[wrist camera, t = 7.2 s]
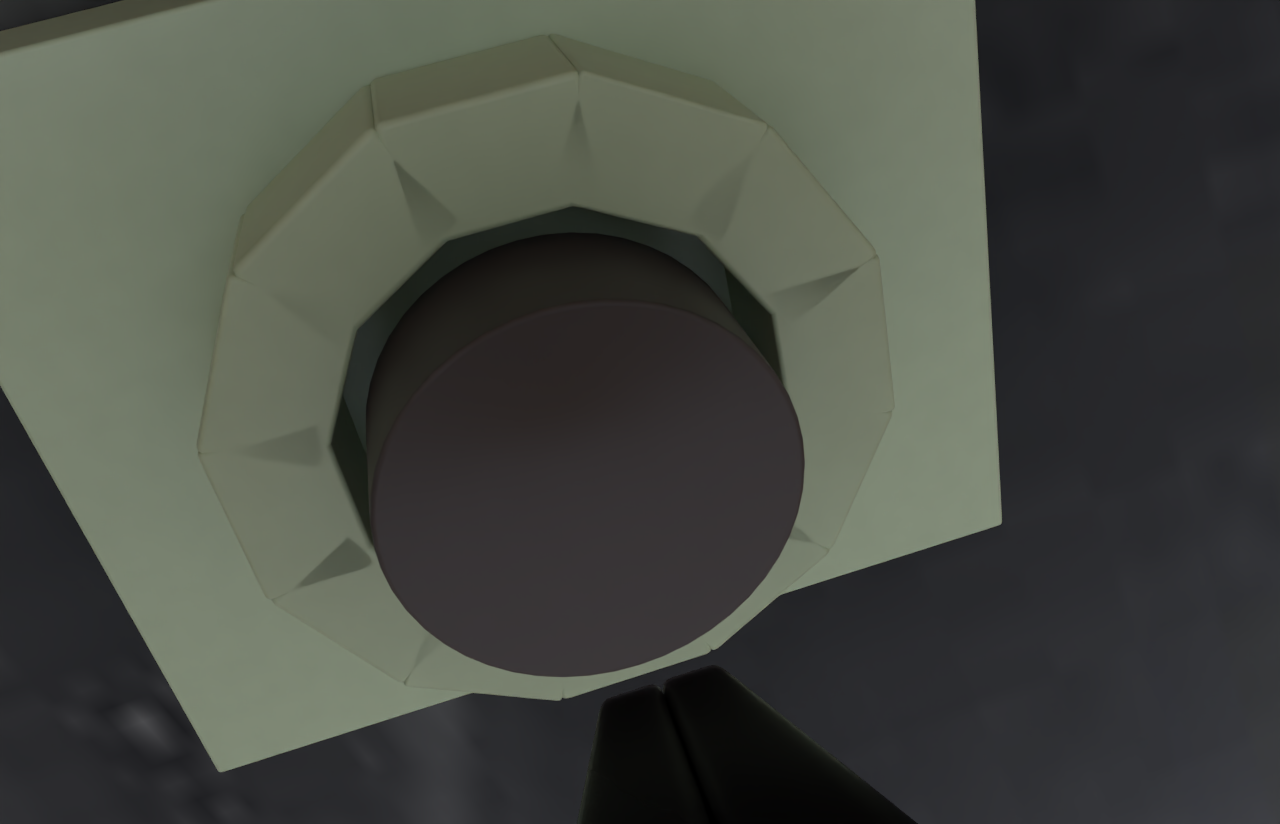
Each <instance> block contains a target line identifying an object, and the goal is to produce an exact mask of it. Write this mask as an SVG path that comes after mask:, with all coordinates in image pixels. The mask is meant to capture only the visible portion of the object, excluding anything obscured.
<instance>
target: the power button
mask: <svg viewBox="0 0 1280 824" xmlns="http://www.w3.org/2000/svg"><path fill="white" fill-rule="evenodd" d="M366 446H367V470H368V494H369V518H370V526H371V533H372V540H373V546H374V549H375V552H376V555H377V558H378V562H379V565H380V568H381V570H382V572H383V574H384V576H385V578H386V580H387V582H388V584H389V586H390V588H391V590H392V591H393V593H394V594H395V596H396V597H397V598H398V600H399V601H400V603H401V604H402V605H403V607H404V608H405V609H406V611H407V612H408V613H409V614H410V615H411V616H412V617H413V618H414V619H415V620H416V621H417V622H418V623H419V624H420V625H421V626H422V627H423V628H424V629H425V630H426V631H428V632H429V633H430V634H432V635H433V636H434V637H436V638H437V639H438V640H439V641H441V642H442V643H443V644H445V645H447V646H449V647H450V648H452V649H454V650H456V651H457V652H459V653H461V654H463V655H464V656H466V657H469V658H471V659H474V660H476V661H479V662H481V663H483V664H486V665H488V666H492V667H496V668H499V669H503V670H506V671H510V672H515V673H521V674H527V675H534V676H547V677H576V676H591V675H597V674H603V673H609V672H615V671H619V670H623V669H627V668H630V667H634V666H638V665H641V664H644V663H647V662H649V661H652V660H655V659H657V658H660V657H663V656H665V655H667V654H669V653H671V652H673V651H675V650H677V649H679V648H681V647H683V646H685V645H687V644H689V643H691V642H692V641H694V640H696V639H697V638H699V637H700V636H702V635H704V634H705V633H707V632H709V631H710V630H711V629H713V628H714V627H715V626H717V625H718V624H719V623H721V622H722V621H723V620H724V619H726V618H727V617H728V616H730V615H731V614H732V613H733V612H734V611H735V610H736V609H737V608H738V607H739V606H740V605H741V604H742V603H743V602H744V601H745V600H747V599H748V598H749V597H750V595H751V594H752V593H753V592H754V591H755V589H756V588H757V587H758V586H759V585H760V584H761V582H762V581H763V580H764V579H765V578H766V576H767V575H768V573H769V572H770V570H771V569H772V567H773V565H774V564H775V562H776V561H777V559H778V558H779V556H780V554H781V552H782V550H783V548H784V546H785V544H786V542H787V540H788V538H789V536H790V534H791V531H792V529H793V526H794V523H795V520H796V517H797V514H798V511H799V506H800V502H801V497H802V492H803V484H804V470H805V458H804V445H803V437H802V433H801V429H800V424H799V420H798V416H797V414H796V411H795V409H794V406H793V404H792V401H791V399H790V396H789V394H788V392H787V391H786V389H785V387H784V386H783V384H782V382H781V381H780V379H779V377H778V376H777V374H776V373H775V371H774V370H773V369H772V367H771V366H770V365H769V363H768V362H767V361H766V359H765V358H764V357H763V355H762V354H761V353H760V351H759V350H758V349H757V347H756V346H755V345H754V343H753V342H752V340H751V339H750V338H749V336H748V335H747V334H746V332H745V331H744V330H743V328H742V327H741V326H740V324H739V323H738V322H737V320H736V319H735V318H734V316H733V315H732V314H731V312H730V311H729V310H728V308H727V307H726V306H725V304H724V303H723V302H722V301H721V299H720V298H719V297H718V296H717V295H716V293H715V292H714V291H713V290H712V289H711V287H710V286H709V285H708V284H707V283H706V282H704V281H703V280H702V279H701V278H700V277H699V276H698V275H697V274H695V273H694V272H693V271H692V270H691V269H689V268H688V267H686V266H685V265H683V264H682V263H680V262H679V261H677V260H676V259H674V258H673V257H671V256H669V255H667V254H665V253H663V252H661V251H659V250H656V249H654V248H652V247H650V246H648V245H645V244H642V243H638V242H635V241H632V240H629V239H626V238H621V237H616V236H610V235H604V234H598V233H576V232H568V233H556V234H545V235H539V236H534V237H530V238H525V239H520V240H516V241H513V242H510V243H507V244H504V245H501V246H499V247H496V248H493V249H490V250H488V251H486V252H484V253H482V254H480V255H478V256H476V257H474V258H472V259H470V260H468V261H466V262H464V263H462V264H461V265H459V266H458V267H456V268H455V269H453V270H452V271H450V272H449V273H447V274H446V275H444V276H443V277H441V278H440V279H439V280H438V281H437V282H436V283H434V284H433V285H432V286H431V287H430V288H429V289H427V290H426V291H425V292H424V293H423V294H422V295H421V296H420V297H419V298H418V299H417V300H416V301H415V302H414V303H413V305H412V306H411V307H410V308H409V309H408V310H407V311H406V312H405V314H404V315H403V316H402V318H401V319H400V321H399V322H398V324H397V325H396V327H395V328H394V329H393V331H392V332H391V334H390V335H389V337H388V339H387V341H386V343H385V345H384V347H383V349H382V351H381V353H380V355H379V358H378V360H377V363H376V366H375V369H374V372H373V375H372V378H371V381H370V386H369V392H368V398H367V404H366Z"/></svg>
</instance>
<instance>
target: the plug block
mask: <svg viewBox="0 0 1280 824" xmlns="http://www.w3.org/2000/svg"><path fill="white" fill-rule="evenodd" d="M568 232H576V233H598V234H604V235H610V236H616V237H621V238H626V239H629V240H632V241H635V242H638V243H642V244H645V245H648V246H650V247H652V248H654V249H656V250H659V251H661V252H663V253H665V254H667V255H669V256H671V257H673V258H674V259H676V260H677V261H679V262H680V263H682V264H683V265H685V266H686V267H688V268H689V269H691V270H692V271H693V272H694V273H695V274H697V275H698V276H699V277H700V278H701V279H702V280H703V281H704V282H706V283H707V284H708V285H709V286H710V287H711V289H712V290H713V291H714V292H715V293H716V295H717V296H718V297H719V298H720V299H721V301H722V302H723V303H724V304H725V306H726V307H727V308H728V310H729V311H730V312H731V314H732V315H733V316H734V318H735V319H736V320H737V322H738V323H739V324H740V326H741V327H742V328H743V330H744V331H745V332H746V334H747V335H748V336H749V338H750V339H751V340H752V342H753V343H754V345H755V346H756V347H757V349H758V350H759V351H760V353H761V354H762V355H763V357H764V358H765V359H766V361H767V362H768V363H769V365H770V366H771V367H772V369H773V370H774V371H775V373H776V374H777V376H778V377H779V379H780V381H781V382H782V384H783V386H784V387H785V389H786V391H787V392H788V394H789V396H790V399H791V401H792V404H793V406H794V409H795V411H796V414H797V416H798V420H799V424H800V429H801V433H802V437H803V445H804V458H805V470H804V484H803V492H802V497H801V502H800V506H799V511H798V514H797V517H796V520H795V523H794V526H793V529H792V531H791V534H790V536H789V538H788V540H787V542H786V544H785V546H784V548H783V550H782V552H781V554H780V556H779V558H778V559H777V561H776V562H775V564H774V565H773V567H772V569H771V570H770V572H769V573H768V575H767V576H766V578H765V579H764V580H763V581H762V582H761V584H760V585H759V586H758V587H757V588H756V589H755V591H754V592H753V593H752V594H751V595H750V597H749V598H748V599H747V600H745V601H744V602H743V603H742V604H741V605H740V606H739V607H738V608H737V609H736V610H735V611H734V612H733V613H732V614H731V615H730V616H728V617H727V618H726V619H724V620H723V621H722V622H721V623H719V624H718V625H717V626H715V627H714V628H713V629H711V630H710V631H709V632H707V633H705V634H704V635H702V636H700V637H699V638H697V639H696V640H694V641H692V642H691V643H689V644H687V645H685V646H683V647H681V648H679V649H677V650H675V651H673V652H671V653H669V654H667V655H665V656H663V657H660V658H657V659H655V660H652V661H649V662H647V663H644V664H641V665H638V666H634V667H630V668H627V669H623V670H619V671H615V672H609V673H603V674H597V675H591V676H576V677H547V676H534V675H527V674H521V673H515V672H510V671H506V670H503V669H499V668H496V667H492V666H488V665H486V664H483V663H481V662H479V661H476V660H474V659H471V658H469V657H466V656H464V655H463V654H461V653H459V652H457V651H456V650H454V649H452V648H450V647H449V646H447V645H445V644H443V643H442V642H441V641H439V640H438V639H437V638H436V637H434V636H433V635H432V634H430V633H429V632H428V631H426V630H425V629H424V628H423V627H422V626H421V625H420V624H419V623H418V622H417V621H416V620H415V619H414V618H413V617H412V616H411V615H410V614H409V613H408V612H407V611H406V609H405V608H404V607H403V605H402V604H401V603H400V601H399V600H398V598H397V597H396V596H395V594H394V593H393V591H392V590H391V588H390V586H389V584H388V582H387V580H386V578H385V576H384V574H383V572H382V570H381V568H380V565H379V562H378V558H377V555H376V552H375V549H374V546H373V540H372V533H371V526H370V518H369V494H368V470H367V446H366V404H367V398H368V392H369V386H370V381H371V378H372V375H373V372H374V369H375V366H376V363H377V360H378V358H379V355H380V353H381V351H382V349H383V347H384V345H385V343H386V341H387V339H388V337H389V335H390V334H391V332H392V331H393V329H394V328H395V327H396V325H397V324H398V322H399V321H400V319H401V318H402V316H403V315H404V314H405V312H406V311H407V310H408V309H409V308H410V307H411V306H412V305H413V303H414V302H415V301H416V300H417V299H418V298H419V297H420V296H421V295H422V294H423V293H424V292H425V291H426V290H427V289H429V288H430V287H431V286H432V285H433V284H434V283H436V282H437V281H438V280H439V279H440V278H441V277H443V276H444V275H446V274H447V273H449V272H450V271H452V270H453V269H455V268H456V267H458V266H459V265H461V264H462V263H464V262H466V261H468V260H470V259H472V258H474V257H476V256H478V255H480V254H482V253H484V252H486V251H488V250H490V249H493V248H496V247H499V246H501V245H504V244H507V243H510V242H513V241H516V240H520V239H525V238H530V237H534V236H539V235H545V234H556V233H568ZM0 386H1V388H2V390H3V391H4V393H5V395H6V397H7V398H8V400H9V402H10V404H11V405H12V407H13V409H14V411H15V413H16V414H17V416H18V418H19V420H20V421H21V423H22V425H23V427H24V428H25V430H26V432H27V434H28V436H29V437H30V439H31V441H32V443H33V444H34V446H35V448H36V450H37V451H38V453H39V455H40V457H41V459H42V460H43V462H44V464H45V466H46V467H47V469H48V471H49V473H50V474H51V476H52V478H53V480H54V482H55V483H56V485H57V487H58V489H59V490H60V492H61V494H62V496H63V497H64V499H65V501H66V503H67V505H68V506H69V508H70V510H71V512H72V513H73V515H74V517H75V519H76V520H77V522H78V524H79V526H80V528H81V529H82V531H83V533H84V535H85V536H86V538H87V540H88V542H89V543H90V545H91V547H92V549H93V551H94V552H95V554H96V556H97V558H98V559H99V561H100V563H101V565H102V566H103V568H104V570H105V572H106V574H107V575H108V577H109V579H110V581H111V582H112V584H113V586H114V588H115V589H116V591H117V593H118V595H119V597H120V598H121V600H122V602H123V604H124V605H125V607H126V609H127V611H128V613H129V614H130V616H131V618H132V620H133V621H134V623H135V625H136V627H137V628H138V630H139V632H140V634H141V636H142V637H143V639H144V641H145V643H146V644H147V646H148V648H149V650H150V651H151V653H152V655H153V657H154V659H155V660H156V662H157V664H158V666H159V667H160V669H161V671H162V673H163V674H164V676H165V678H166V680H167V682H168V683H169V685H170V687H171V689H172V690H173V692H174V694H175V696H176V697H177V699H178V701H179V703H180V705H181V706H182V708H183V710H184V712H185V713H186V715H187V717H188V719H189V720H190V722H191V724H192V726H193V728H194V729H195V731H196V733H197V735H198V736H199V738H200V740H201V742H202V743H203V745H204V747H205V749H206V751H207V752H208V754H209V756H210V758H211V759H212V761H213V763H214V765H215V766H216V768H217V770H218V771H219V772H224V771H228V770H231V769H234V768H237V767H240V766H243V765H246V764H250V763H253V762H256V761H259V760H262V759H265V758H268V757H272V756H275V755H278V754H281V753H284V752H287V751H290V750H294V749H297V748H300V747H303V746H306V745H309V744H312V743H316V742H319V741H322V740H325V739H328V738H331V737H334V736H338V735H341V734H344V733H347V732H350V731H353V730H356V729H360V728H363V727H366V726H369V725H372V724H375V723H379V722H382V721H385V720H388V719H391V718H394V717H397V716H401V715H404V714H407V713H410V712H413V711H416V710H419V709H423V708H426V707H429V706H432V705H435V704H438V703H441V702H445V701H448V700H451V699H454V698H457V697H460V696H463V695H467V694H470V693H481V694H491V695H502V696H512V697H523V698H534V699H544V700H555V701H559V700H561V699H562V697H563V698H570V697H574V696H577V695H580V694H583V693H586V692H589V691H592V690H595V689H599V688H602V687H605V686H608V685H611V684H614V683H617V682H620V681H623V680H627V679H630V678H633V677H636V676H639V675H642V674H645V673H648V672H651V671H655V670H658V669H661V668H664V667H667V666H670V665H673V664H676V663H680V662H683V661H686V660H689V659H692V658H695V657H698V656H701V655H704V654H707V653H709V652H710V650H711V649H712V650H715V649H717V648H718V647H720V646H721V645H722V644H723V643H724V642H725V641H727V640H728V639H729V638H730V637H731V636H732V635H734V634H735V633H736V632H737V631H738V630H740V629H741V628H742V627H743V626H744V625H745V624H747V623H748V622H749V621H750V620H751V619H752V618H754V617H755V616H756V615H757V614H758V613H759V612H761V611H762V610H763V609H764V608H765V607H766V606H768V605H769V604H770V603H771V602H772V601H773V600H775V599H776V598H777V597H778V596H779V595H781V594H784V593H787V592H791V591H794V590H797V589H800V588H803V587H806V586H809V585H813V584H816V583H819V582H822V581H825V580H828V579H831V578H835V577H838V576H841V575H844V574H847V573H850V572H853V571H857V570H860V569H863V568H866V567H869V566H872V565H875V564H879V563H882V562H885V561H888V560H891V559H894V558H897V557H901V556H904V555H907V554H910V553H913V552H916V551H920V550H923V549H926V548H929V547H932V546H935V545H938V544H942V543H945V542H948V541H951V540H954V539H957V538H960V537H964V536H967V535H970V534H973V533H976V532H979V531H982V530H986V529H989V528H992V527H995V526H998V525H1000V524H1001V523H1002V511H1001V491H1000V472H999V453H998V433H997V414H996V395H995V375H994V356H993V337H992V317H991V298H990V279H989V259H988V240H987V221H986V201H985V182H984V163H983V143H982V124H981V105H980V85H979V66H978V47H977V28H976V8H975V0H123V1H119V2H115V3H111V4H107V5H103V6H99V7H95V8H91V9H87V10H83V11H79V12H75V13H71V14H67V15H63V16H59V17H55V18H51V19H47V20H43V21H39V22H35V23H31V24H27V25H23V26H19V27H15V28H11V29H7V30H3V31H0Z"/></svg>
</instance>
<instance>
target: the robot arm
mask: <svg viewBox="0 0 1280 824" xmlns="http://www.w3.org/2000/svg"><path fill="white" fill-rule="evenodd" d="M577 824H918V823H916V822H915V821H914V820H913V819H911V818H910V817H909V816H908V815H906V814H905V813H904V812H903V811H901V810H900V809H899V808H898V807H896V806H895V805H894V804H893V803H891V802H890V801H889V800H888V799H886V798H885V797H884V796H883V795H881V794H880V793H879V792H878V791H876V790H875V789H874V788H873V787H871V786H870V785H869V784H868V783H866V782H865V781H864V780H863V779H861V778H860V777H859V776H858V775H856V774H855V773H854V772H853V771H851V770H850V769H849V768H847V767H846V766H845V765H844V764H842V763H841V762H840V761H839V760H837V759H836V758H835V757H834V756H832V755H831V754H830V753H829V752H827V751H826V750H825V749H824V748H822V747H821V746H820V745H819V744H817V743H816V742H815V741H814V740H812V739H811V738H810V737H809V736H807V735H806V734H805V733H804V732H802V731H801V730H800V729H799V728H797V727H796V726H795V725H794V724H792V723H791V722H790V721H789V720H787V719H786V718H785V717H784V716H782V715H781V714H780V713H779V712H777V711H776V710H775V709H774V708H772V707H771V706H770V705H769V704H767V703H766V702H765V701H764V700H762V699H761V698H760V697H759V696H757V695H756V694H755V693H754V692H752V691H751V690H750V689H749V688H747V687H746V686H745V685H744V684H742V683H741V682H740V681H739V680H737V679H736V678H735V677H734V676H732V675H731V674H730V673H729V672H727V671H726V670H724V669H723V668H721V667H719V666H715V665H711V666H707V667H704V668H700V669H697V670H694V671H691V672H688V673H685V674H682V675H679V676H676V677H672V678H670V679H668V680H667V681H666V682H665V683H664V686H663V692H662V691H661V689H660V688H659V687H658V686H655V685H648V686H645V687H641V688H638V689H635V690H632V691H629V692H626V693H623V694H620V695H617V696H614V697H611V698H608V699H606V700H605V702H604V703H603V704H602V706H601V708H600V711H599V716H598V721H597V726H596V731H595V736H594V741H593V746H592V751H591V756H590V761H589V766H588V771H587V776H586V781H585V786H584V791H583V796H582V801H581V806H580V811H579V816H578V821H577Z"/></svg>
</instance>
